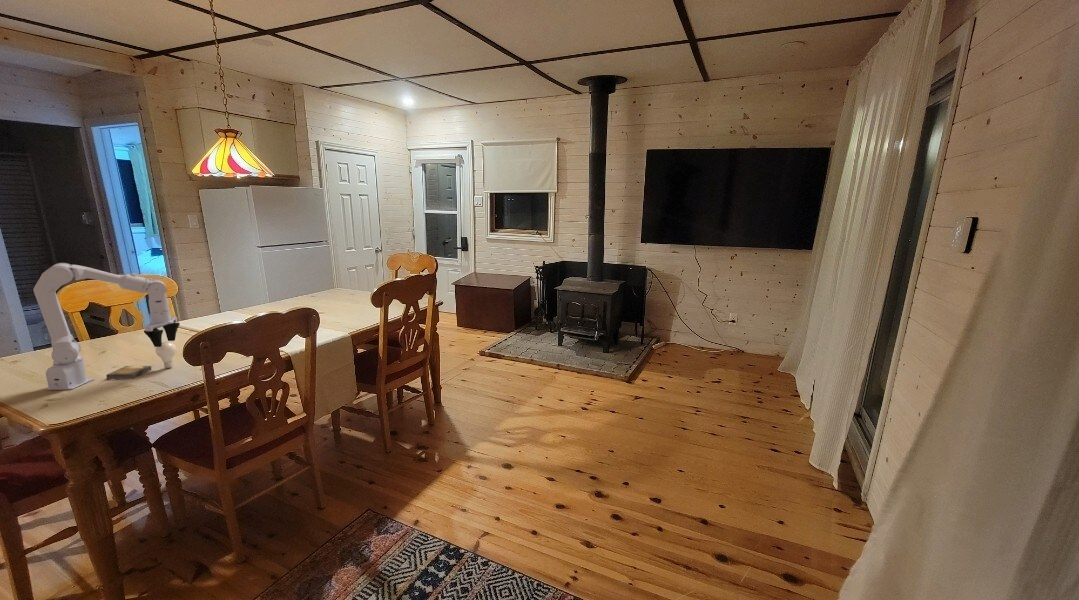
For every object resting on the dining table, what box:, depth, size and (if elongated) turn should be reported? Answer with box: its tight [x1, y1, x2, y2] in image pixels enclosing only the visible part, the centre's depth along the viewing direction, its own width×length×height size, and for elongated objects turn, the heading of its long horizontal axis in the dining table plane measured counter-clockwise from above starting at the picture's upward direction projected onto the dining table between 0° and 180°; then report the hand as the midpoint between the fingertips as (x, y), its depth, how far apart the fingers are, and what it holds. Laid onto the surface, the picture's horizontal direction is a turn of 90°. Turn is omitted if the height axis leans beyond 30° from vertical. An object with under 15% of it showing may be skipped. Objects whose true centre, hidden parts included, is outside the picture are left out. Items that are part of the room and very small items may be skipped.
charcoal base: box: [105, 365, 152, 380], centre depth 165 cm, size 9×9×2 cm
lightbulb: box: [154, 341, 177, 369], centre depth 172 cm, size 6×6×11 cm
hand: (164, 343), depth 171 cm, fingers open, 7 cm apart
